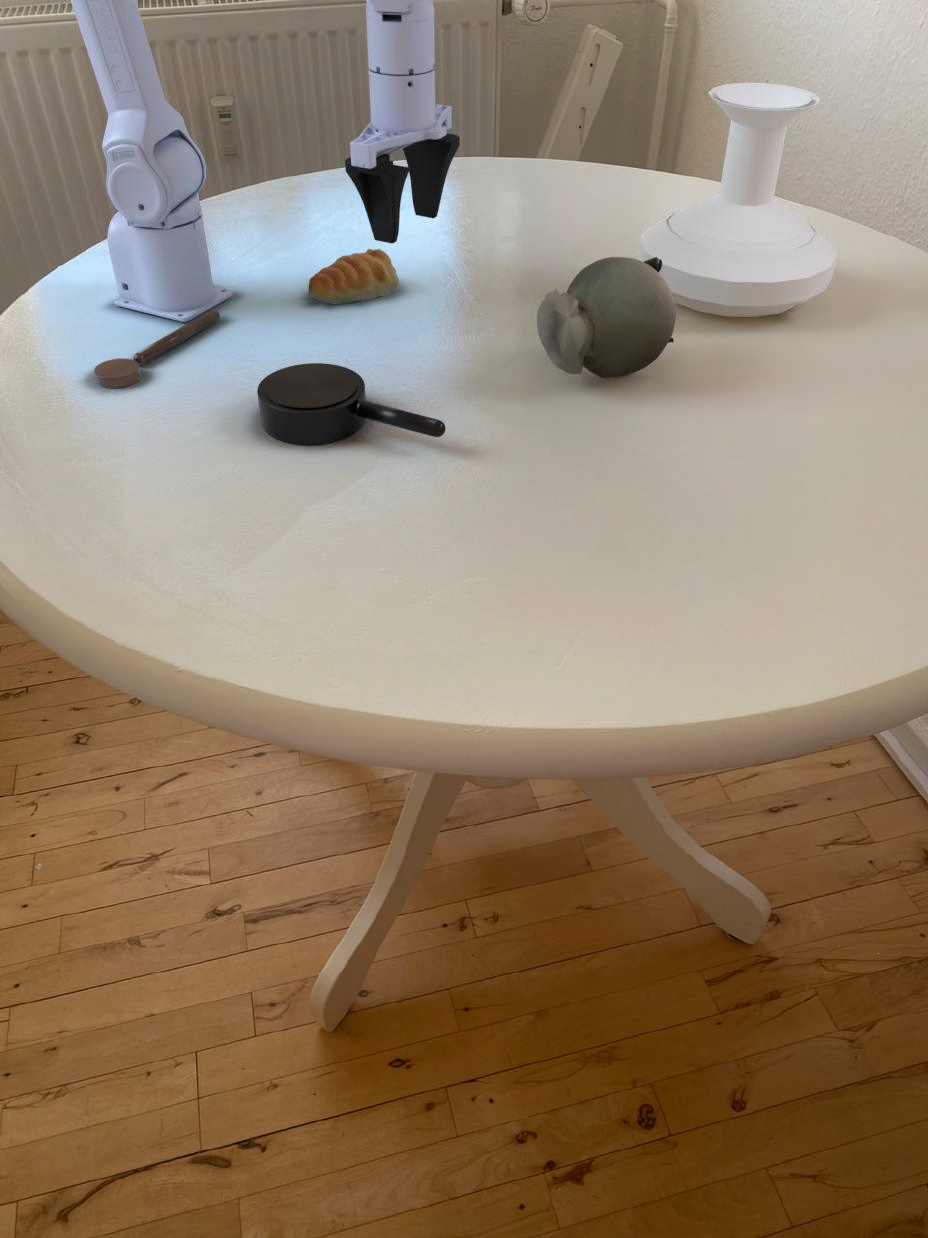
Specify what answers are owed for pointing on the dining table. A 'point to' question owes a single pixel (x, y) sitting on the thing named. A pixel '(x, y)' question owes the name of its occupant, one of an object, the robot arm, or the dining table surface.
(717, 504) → the dining table surface
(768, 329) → the dining table surface
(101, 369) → the spoon
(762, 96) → the candle holder
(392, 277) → the pastry
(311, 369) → the pan
